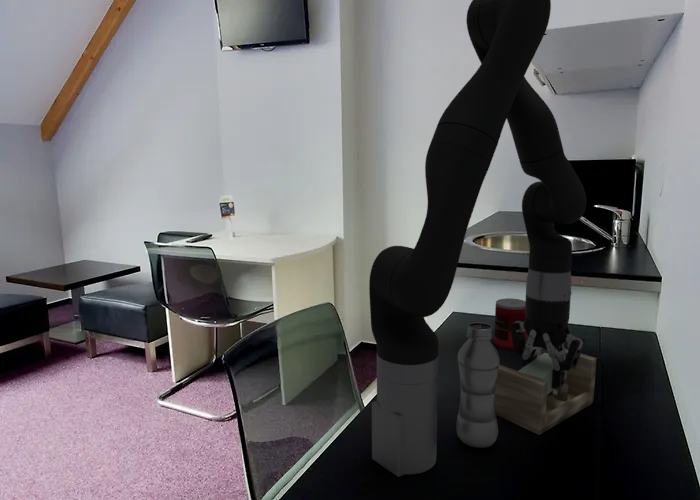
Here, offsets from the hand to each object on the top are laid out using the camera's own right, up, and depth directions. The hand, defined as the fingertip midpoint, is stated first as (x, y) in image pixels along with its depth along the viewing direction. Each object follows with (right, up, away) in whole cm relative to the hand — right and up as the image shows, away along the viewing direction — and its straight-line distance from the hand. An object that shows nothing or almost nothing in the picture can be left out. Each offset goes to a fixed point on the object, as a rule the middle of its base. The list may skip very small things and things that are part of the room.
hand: (542, 382), depth 94 cm
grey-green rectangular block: (0, -1, 0) cm, 1 cm away
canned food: (+4, +1, +33) cm, 33 cm away
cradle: (0, -5, +1) cm, 5 cm away
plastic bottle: (-15, -7, -10) cm, 20 cm away
